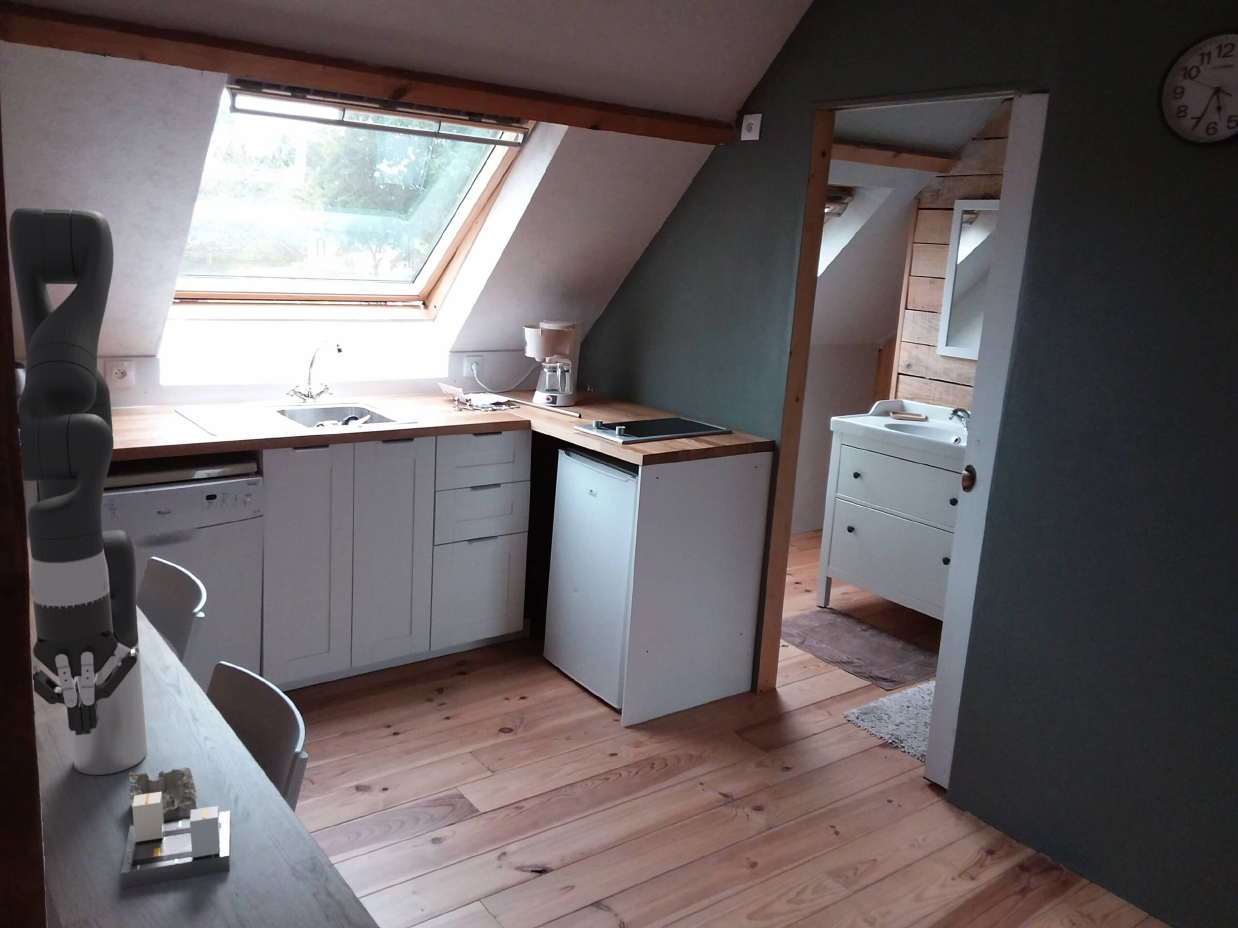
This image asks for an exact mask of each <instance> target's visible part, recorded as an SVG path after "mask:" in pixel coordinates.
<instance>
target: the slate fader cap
mask: <svg viewBox="0 0 1238 928" xmlns="http://www.w3.org/2000/svg"><path fill="white" fill-rule="evenodd" d="M219 812H220V811H219V805H215V806H208V807H201V808H197V809H194V810H191V815H190V830H191V846H192V858H193V857H199V856H205V855H211V854H217V853H220V829H219Z"/></svg>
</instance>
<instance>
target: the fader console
mask: <svg viewBox="0 0 1238 928" xmlns="http://www.w3.org/2000/svg"><path fill="white" fill-rule="evenodd" d="M231 825H232V822H231V810H224V811H219V829H220V853H217V854H211V855H205V856H199V857H193V858H192V846H191V830H190V817H184V818H177V819H170V820H164V832H163V838H158V839H152V840H145V841H139V842H135V833H134V824H131V825H129V829H128V834H127V840H126V845H125V850H124V856H123V861H122V862H123V863H122V867H121V872H120V876H121V887H122V888H123V889H126V888H131V887H139V886H143V885H149V884H150V885H151V884H156V883H163V882H166V881H173V880H174V881H175V880H179V879H185V878H191V877H197V876H202V875H208V874H214V873H221V872H225V871H227V872H228V871H230V868H231V833H232V832H231V828H232V827H231Z"/></svg>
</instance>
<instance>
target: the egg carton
mask: <svg viewBox="0 0 1238 928" xmlns="http://www.w3.org/2000/svg"><path fill="white" fill-rule="evenodd" d="M128 773H129V774H128V776H129V786H130V787H129V799H130V803H131V805H130V806H131V807H132V806H133V801H134V795H141V794H148V793H156V792H162V803H163V817H164V820H170V819H177V818H184V817H190V815H191V810H194V809H198V808H197V799H198V795H197V790H196V785H195V782H194V777H193V773H192V771H191V768H189V767H182V768H179V769H176V768H172V770H170V771H167V772H165V771H163V770H162V771H159V773H158V775H157V776H156V777H152V778H150V777H149V775H148V773H147V772H140V773H137V774H135V773H134V772H133V771H129V772H128Z"/></svg>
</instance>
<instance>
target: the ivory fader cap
mask: <svg viewBox="0 0 1238 928" xmlns="http://www.w3.org/2000/svg"><path fill="white" fill-rule="evenodd" d="M131 808H132V818H133V825H134V833H135V842H139V841H145V840H152V839H158V838H163V832H164V817H163V803H162V792H156V793H148V794H141V795H134V801H133V806H132V805H131Z"/></svg>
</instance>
